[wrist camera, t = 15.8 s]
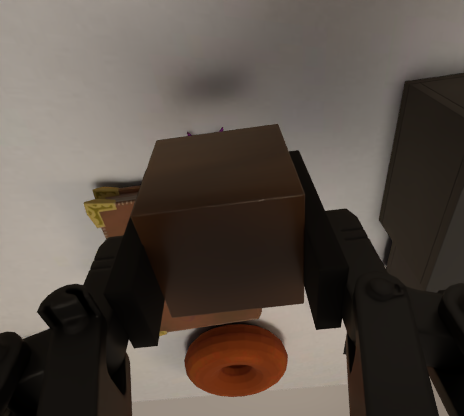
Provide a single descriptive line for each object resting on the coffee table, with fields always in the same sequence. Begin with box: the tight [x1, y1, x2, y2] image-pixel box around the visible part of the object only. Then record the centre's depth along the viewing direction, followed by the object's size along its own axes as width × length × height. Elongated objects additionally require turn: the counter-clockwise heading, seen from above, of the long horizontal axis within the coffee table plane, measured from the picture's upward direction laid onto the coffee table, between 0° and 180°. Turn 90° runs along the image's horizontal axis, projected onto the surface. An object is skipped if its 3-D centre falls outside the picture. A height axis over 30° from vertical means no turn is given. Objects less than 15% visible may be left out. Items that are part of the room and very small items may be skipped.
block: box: [131, 124, 305, 318], centre depth 13 cm, size 5×5×5 cm
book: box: [84, 127, 262, 336], centre depth 34 cm, size 16×25×5 cm, turn 6°
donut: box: [184, 324, 288, 397], centre depth 47 cm, size 15×15×5 cm
